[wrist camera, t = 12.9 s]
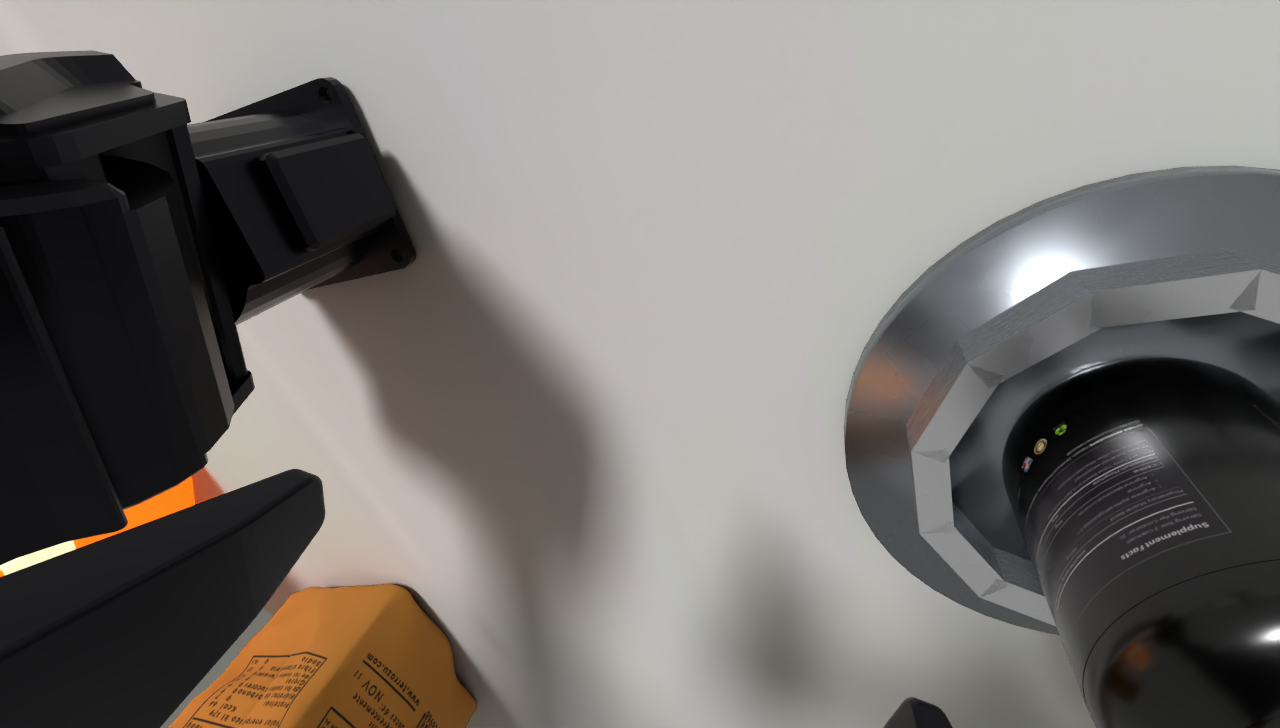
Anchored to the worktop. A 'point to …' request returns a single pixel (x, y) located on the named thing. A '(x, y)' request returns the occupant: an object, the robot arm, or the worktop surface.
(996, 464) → the seat plate
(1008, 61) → the worktop surface
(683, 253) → the worktop surface
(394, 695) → the coffee package
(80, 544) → the orange juice
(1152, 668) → the supplement bottle
